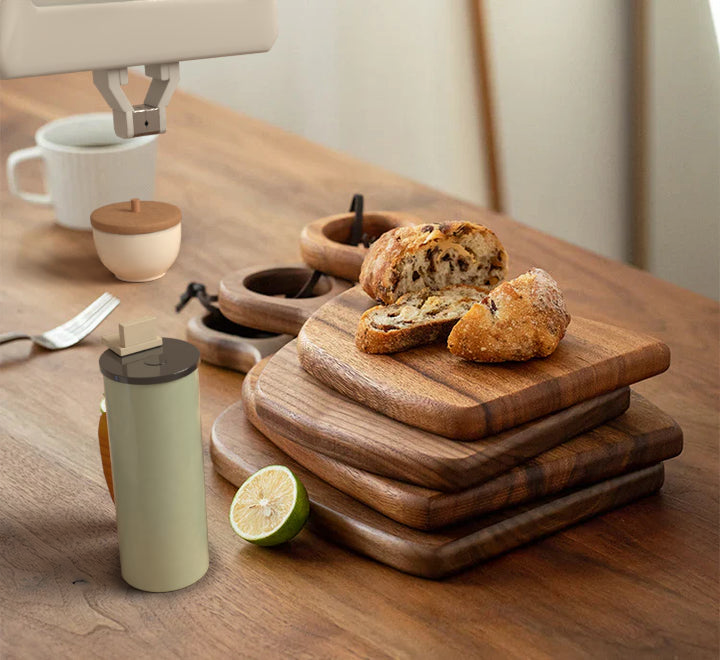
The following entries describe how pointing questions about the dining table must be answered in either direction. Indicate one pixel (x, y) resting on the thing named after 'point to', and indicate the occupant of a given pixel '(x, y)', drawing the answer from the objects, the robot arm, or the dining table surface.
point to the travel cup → (157, 464)
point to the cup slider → (133, 336)
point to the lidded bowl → (137, 238)
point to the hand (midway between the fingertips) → (140, 135)
